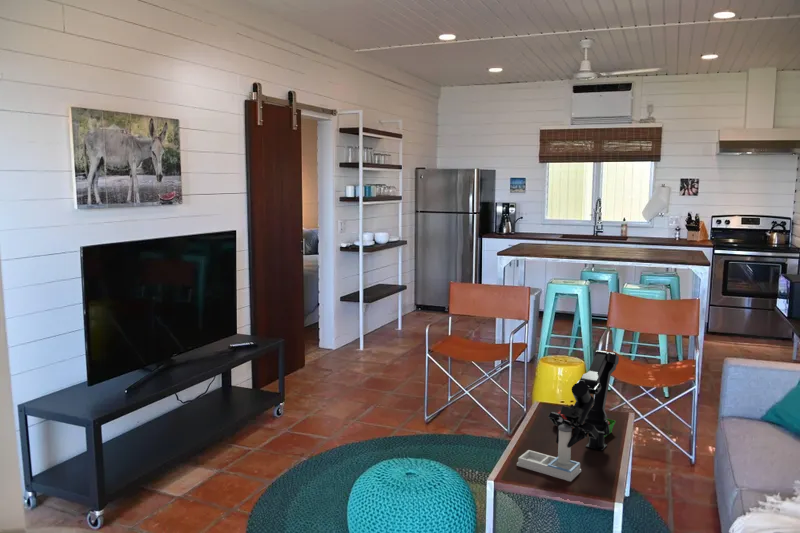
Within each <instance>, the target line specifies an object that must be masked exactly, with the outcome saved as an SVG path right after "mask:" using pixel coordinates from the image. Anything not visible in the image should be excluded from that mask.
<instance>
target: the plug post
mask: <svg viewBox="0 0 800 533" xmlns="http://www.w3.org/2000/svg"><path fill="white" fill-rule="evenodd" d="M557 429H559V442H558V446H557V447H558V449H557V452H558V453H557V457H558V462H559V463H562V464H569V463H570V460H571V457H572V455H571V454H572V452H571V451H572V446H571V447H570V448H568V447H567V445H568V443H569V441H570V439H571V437H572V431H573V429H572V427H571V426H569V425H559V426H558V427H557Z"/></svg>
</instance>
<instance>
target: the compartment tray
mask: <svg viewBox="0 0 800 533" xmlns="http://www.w3.org/2000/svg"><path fill="white" fill-rule="evenodd" d="M516 466H517V467H520V468H524V469H527V470H530V471H534V472H537V473H540V474H544V475H547V476H551V477H553V478H557V479H561V480H564V481H567V482H572V481H573V480H575V478H576V477H577V476H578V475H579V474H581V473H582V468H581V462H579V461H576V460H571V459H570V463H569V464H562V463H559V462H558V456H552V455H549V454H545V453H541V452H538V451H534V450H531V449H528V450H526V451H525V452H524V453H522V454H521V455H520V456H519V457H518V458H517V462H516Z"/></svg>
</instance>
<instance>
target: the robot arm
mask: <svg viewBox="0 0 800 533" xmlns="http://www.w3.org/2000/svg"><path fill="white" fill-rule="evenodd" d="M619 360H620V356H619V355H618V354H617V352H613V351H607V350H600V349H598V350H596V351H595V352H594V359H593V360H592V363H591V365H590V367H589V370H588V372H586V373H583V374H582V376H581V377H580V379H578V381H577V382H575V383H574V384H573V385H572V386H571V393H572V395H573V398H574V400H575V402H574V404H573V405H572V404H571V405H570V406H566V405H561V409H560V410H561V412H560V411H559V412H560V414H564V417H565V418H567V420H566V419H563V417H562V416H561V415H560V414H558V412H555V411H551V412H549V414H548V416H547V418H548V419H549V421H550V422H551V423H552V424H553V425H555V426H556V425H557V426H556V427H557V428H556V429H557V430H556V431H557V432H556V438H555V439H556V440H555V442H556V444H558V442H559V429H558V426H559V425H569V426H571V427H573V429H574V430H573V433H572V434H571V439H570V441H569V443H568V445H567V447H568V448H570V447H571V448H572V447H573V445H576V444H577V443H578V442H580V441H582V440H583V439H587V438H588V443H587V444H586V445H585V447H586V448H589V449H592V450H596V451H600V452H601V451H603V450H604V449H605V448H607V446H608V444H606V443H605V437H604V435H605V436H606V435H607V436H609V435H610V434H611V433H610V426H609V423H608V421H607V419H608V415H607V413H606V410H605V409H606V403H607V397H608V390H609V386H610V379H611V375H612V374H613V373H614V371H615V370H616V368H617V365H618V364H619V362H620V361H619ZM592 395H594V397H593V396H592ZM569 423H570V424H569ZM607 436H606V437H607Z"/></svg>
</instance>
